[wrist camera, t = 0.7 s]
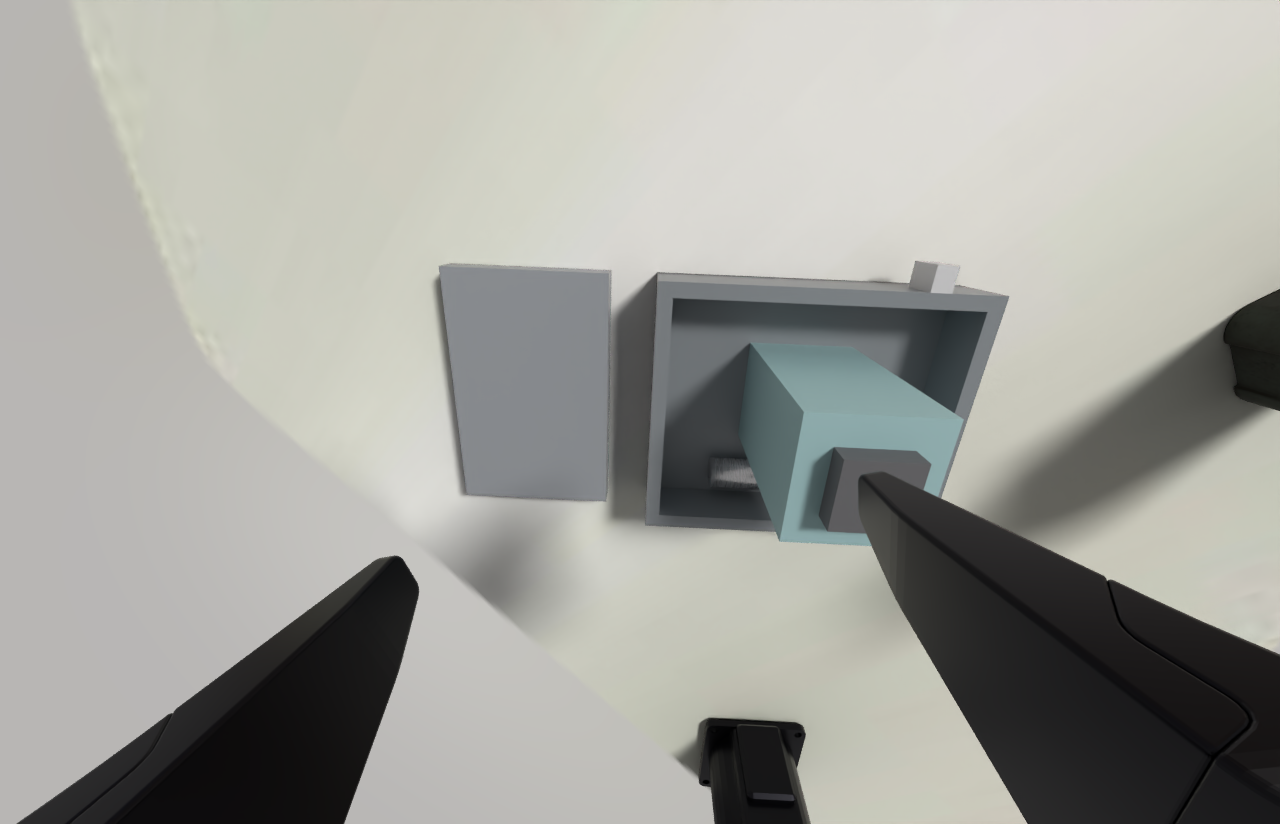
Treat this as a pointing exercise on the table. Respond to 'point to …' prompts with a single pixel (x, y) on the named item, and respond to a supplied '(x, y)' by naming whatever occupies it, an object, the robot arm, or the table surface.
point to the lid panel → (530, 378)
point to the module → (835, 436)
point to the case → (801, 315)
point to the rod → (731, 473)
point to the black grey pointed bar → (1257, 351)
